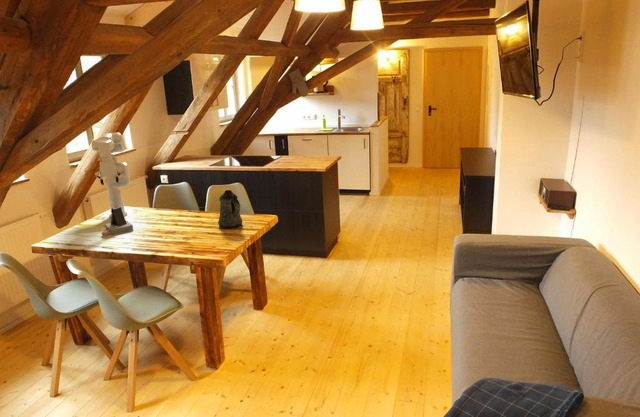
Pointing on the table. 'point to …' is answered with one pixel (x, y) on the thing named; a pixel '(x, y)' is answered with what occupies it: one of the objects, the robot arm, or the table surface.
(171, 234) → the table surface
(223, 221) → the dark grey upright piece
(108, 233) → the walnut offcut
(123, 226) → the stand
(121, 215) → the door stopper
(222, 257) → the table surface
